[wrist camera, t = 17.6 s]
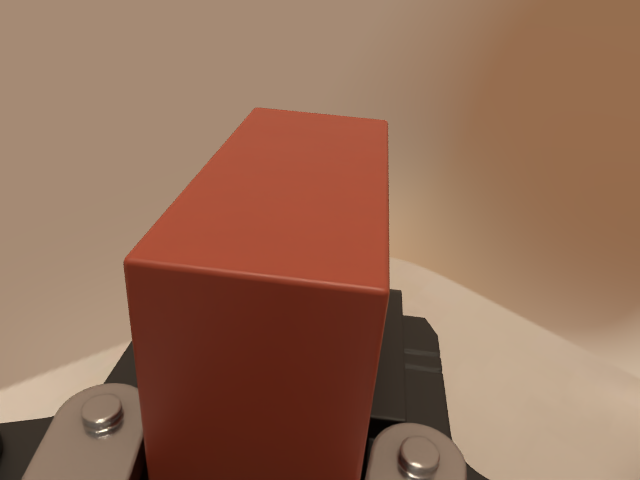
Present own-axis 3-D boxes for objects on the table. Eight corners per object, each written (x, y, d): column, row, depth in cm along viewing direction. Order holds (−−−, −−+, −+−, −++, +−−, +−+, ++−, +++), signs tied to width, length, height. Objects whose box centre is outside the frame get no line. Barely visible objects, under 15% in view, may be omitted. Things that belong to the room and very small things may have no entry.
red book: (175, 730, 10) (119, 259, 5) (249, 461, 15) (254, 106, 10) (316, 755, 10) (390, 291, 5) (341, 474, 15) (388, 119, 10)
